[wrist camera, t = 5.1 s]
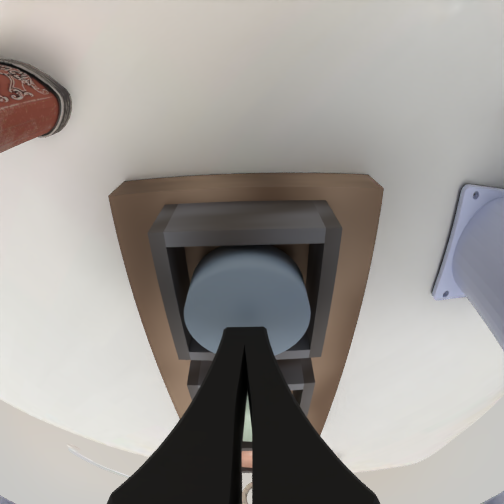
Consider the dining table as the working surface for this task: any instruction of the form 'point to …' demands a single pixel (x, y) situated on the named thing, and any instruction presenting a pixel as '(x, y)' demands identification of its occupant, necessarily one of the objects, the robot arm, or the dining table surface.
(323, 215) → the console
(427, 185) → the dining table surface
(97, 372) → the dining table surface
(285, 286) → the button slate
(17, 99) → the lighter
